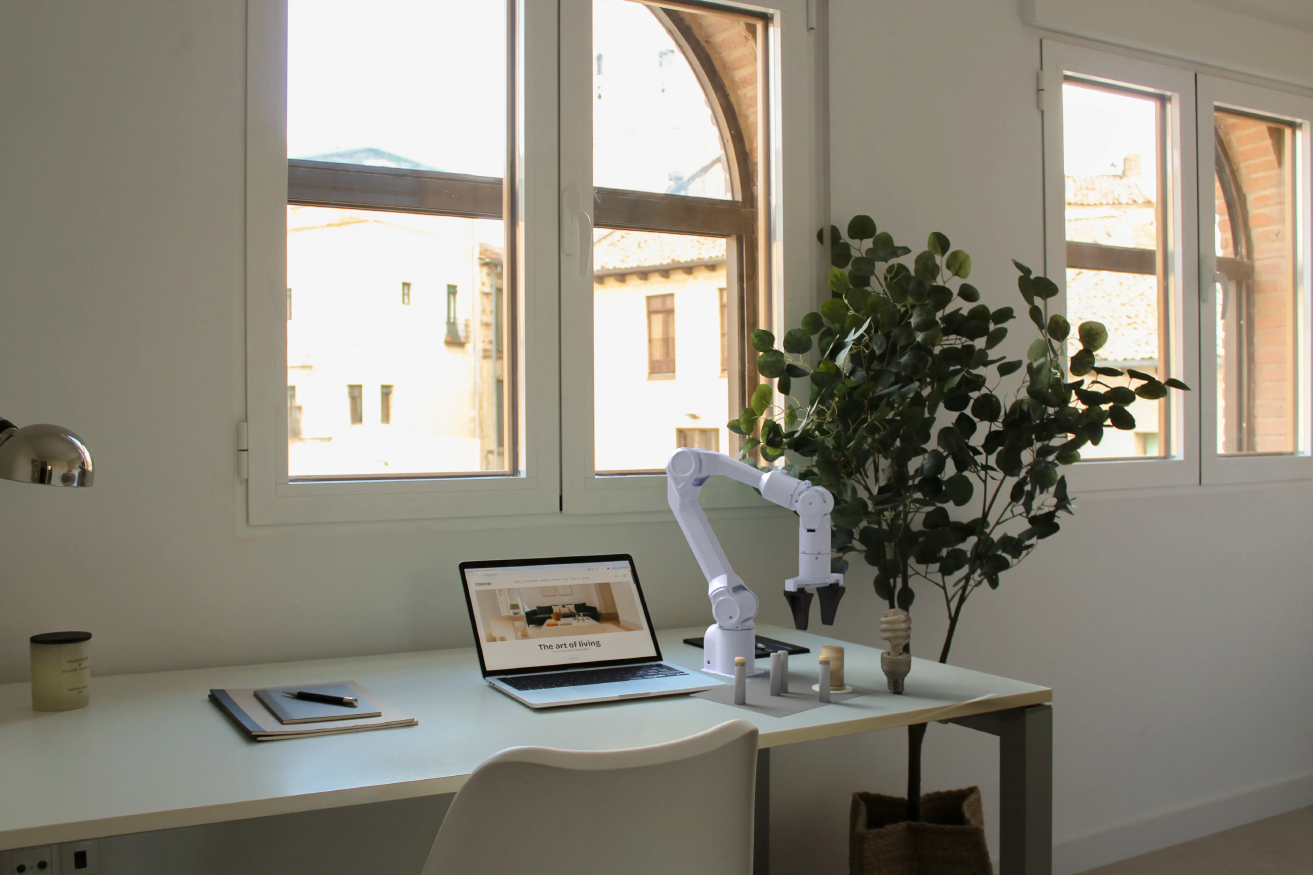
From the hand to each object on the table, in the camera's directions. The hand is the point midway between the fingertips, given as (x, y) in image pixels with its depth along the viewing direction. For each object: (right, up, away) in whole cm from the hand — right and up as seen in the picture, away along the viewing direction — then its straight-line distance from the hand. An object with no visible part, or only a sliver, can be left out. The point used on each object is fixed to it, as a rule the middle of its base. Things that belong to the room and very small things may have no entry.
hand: (814, 627), depth 188 cm
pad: (+2, -9, -8) cm, 12 cm away
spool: (+2, -9, -8) cm, 12 cm away
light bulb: (+12, -10, -10) cm, 19 cm away
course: (-7, -10, -10) cm, 16 cm away
